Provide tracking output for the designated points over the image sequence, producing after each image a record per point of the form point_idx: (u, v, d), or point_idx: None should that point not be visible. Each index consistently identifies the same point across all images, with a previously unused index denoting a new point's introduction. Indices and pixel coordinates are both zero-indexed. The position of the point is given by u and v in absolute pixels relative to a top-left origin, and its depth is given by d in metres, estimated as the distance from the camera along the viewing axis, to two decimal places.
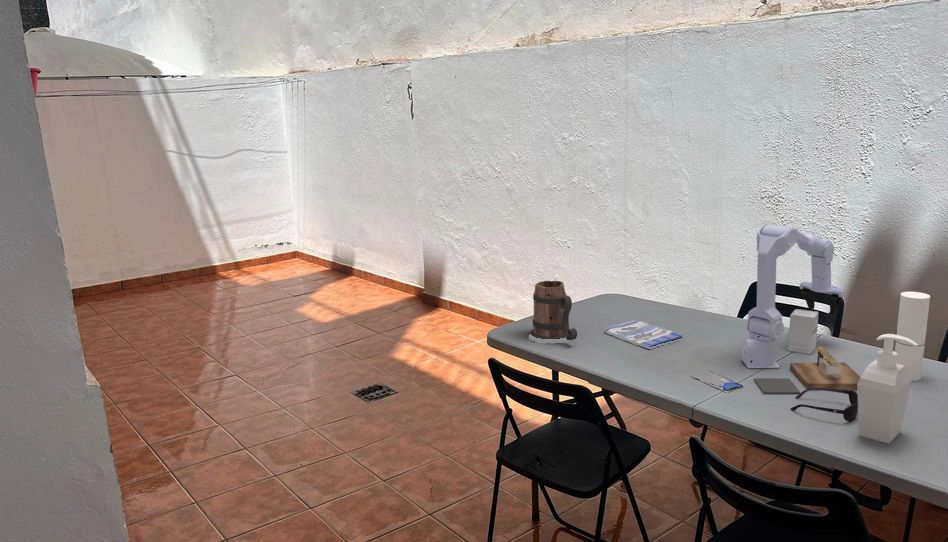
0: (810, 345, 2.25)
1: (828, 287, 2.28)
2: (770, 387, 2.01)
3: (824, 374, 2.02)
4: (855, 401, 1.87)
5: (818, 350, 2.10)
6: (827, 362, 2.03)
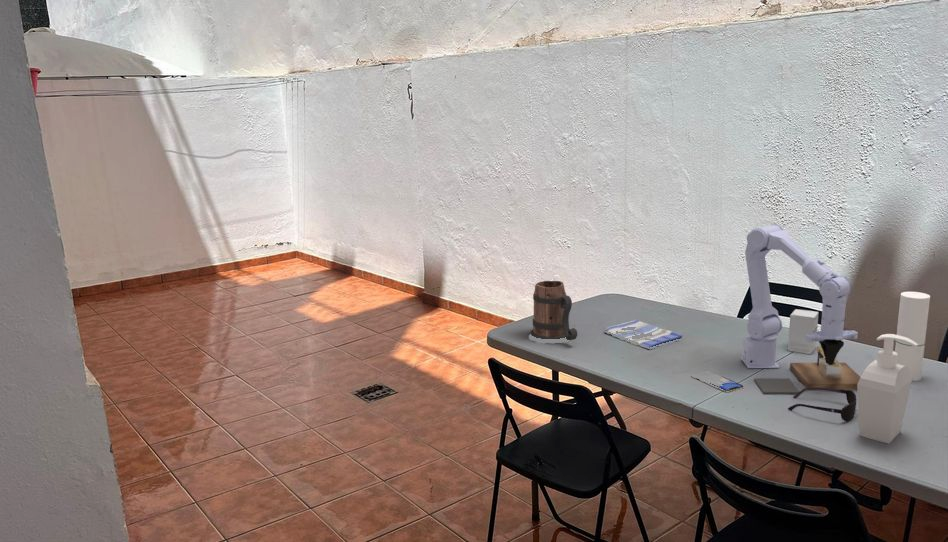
0: (810, 345, 2.25)
1: (821, 331, 1.98)
2: (770, 387, 2.01)
3: (824, 374, 2.02)
4: (853, 401, 1.87)
5: (818, 350, 2.10)
6: None
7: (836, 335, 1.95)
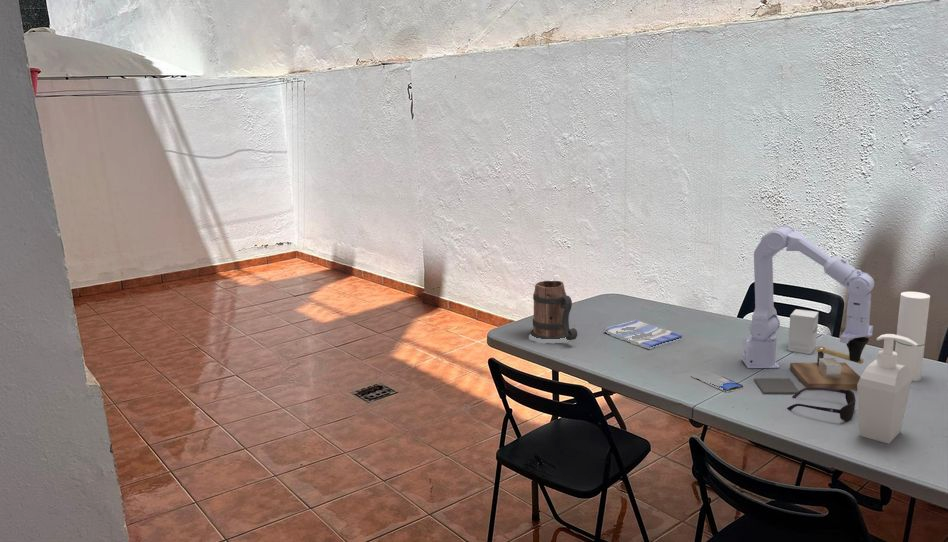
0: (810, 345, 2.25)
1: (849, 330, 1.98)
2: (770, 387, 2.01)
3: (824, 374, 2.02)
4: (852, 401, 1.87)
5: (820, 351, 2.09)
6: (827, 362, 2.03)
7: (866, 332, 1.96)
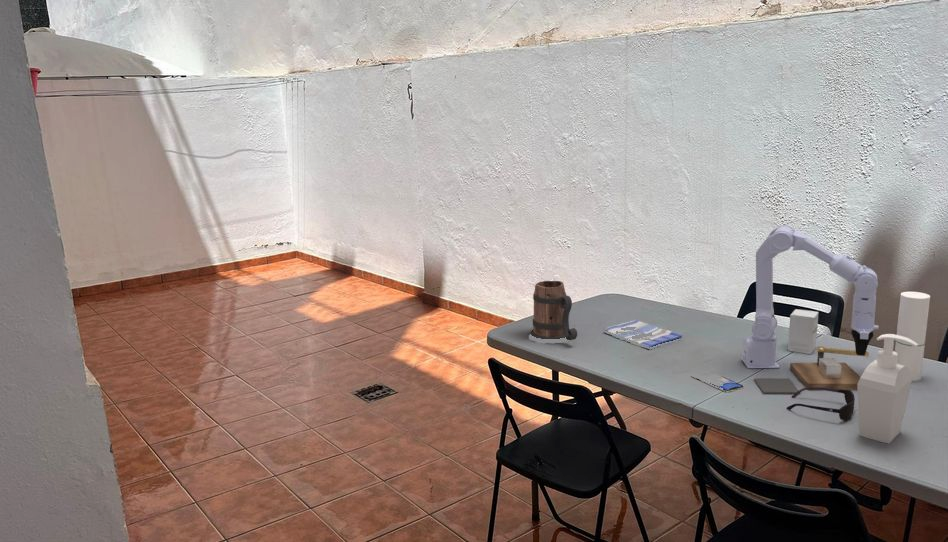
0: (810, 345, 2.25)
1: (860, 326, 2.01)
2: (770, 387, 2.01)
3: (824, 374, 2.02)
4: (851, 401, 1.87)
5: (822, 351, 2.09)
6: (827, 362, 2.03)
7: (873, 325, 2.01)
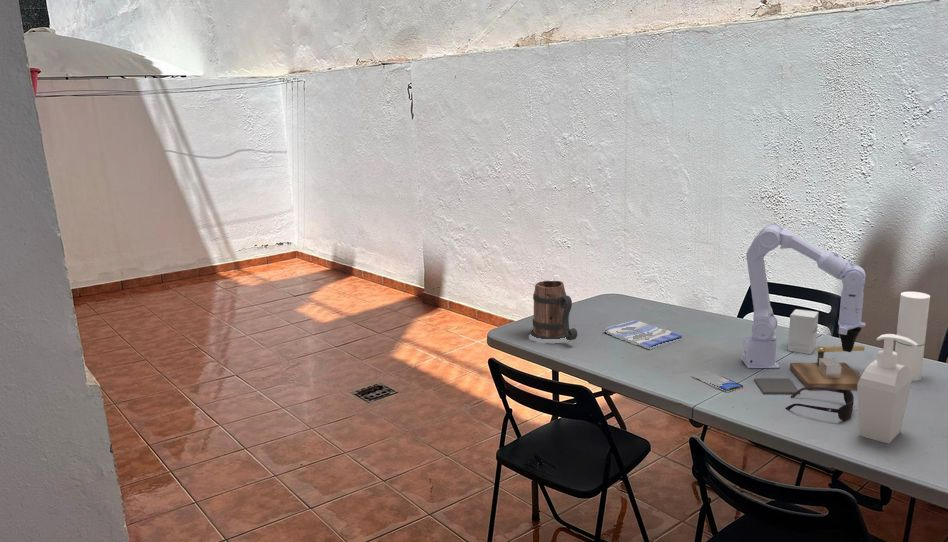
0: (810, 345, 2.25)
1: (844, 321, 2.02)
2: (770, 387, 2.01)
3: (824, 374, 2.02)
4: (850, 400, 1.87)
5: (824, 350, 2.09)
6: (827, 362, 2.03)
7: (860, 322, 2.02)
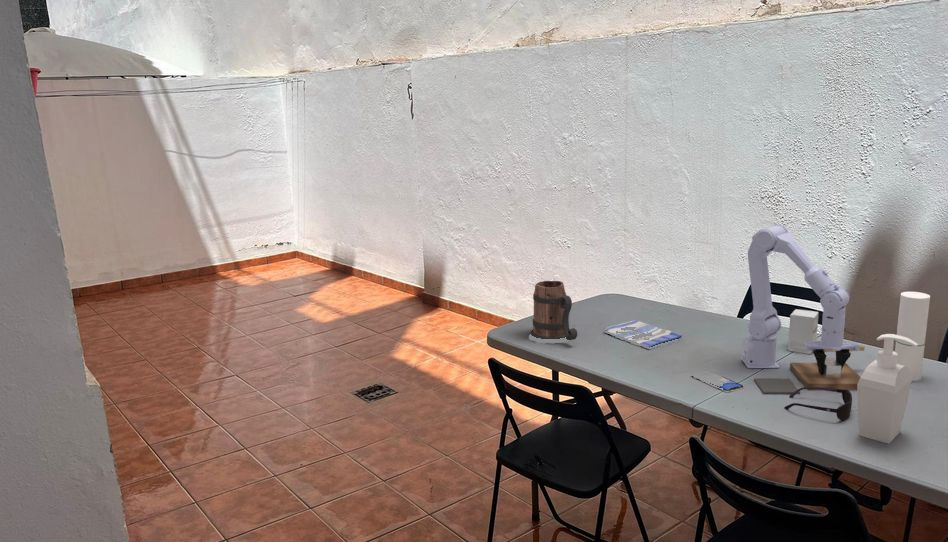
0: None
1: (820, 341, 2.03)
2: (770, 387, 2.01)
3: (824, 374, 2.02)
4: (848, 400, 1.87)
5: (824, 350, 2.09)
6: (827, 362, 2.03)
7: (834, 346, 1.99)
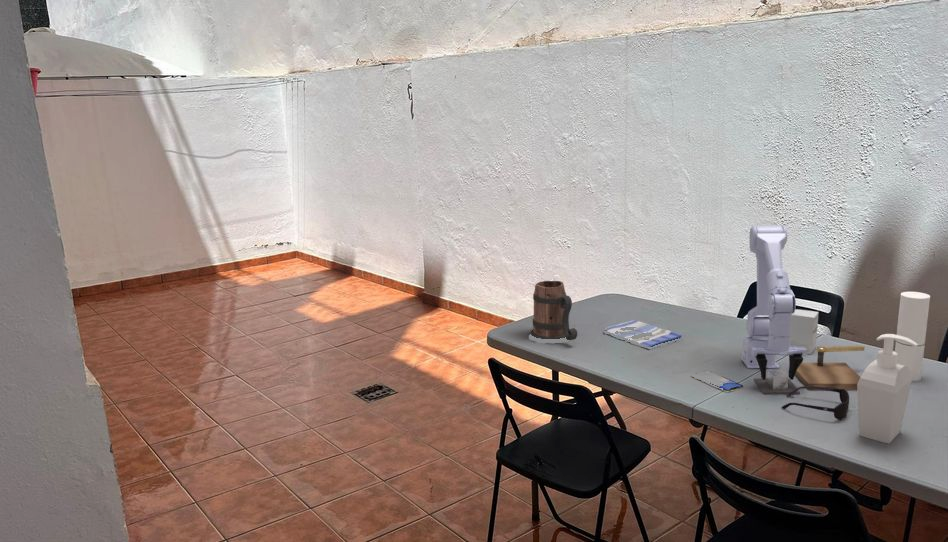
0: (810, 345, 2.25)
1: (768, 346, 2.00)
2: (770, 387, 2.01)
3: (771, 385, 2.00)
4: (846, 400, 1.88)
5: (824, 350, 2.09)
6: (774, 373, 2.00)
7: (780, 350, 1.97)
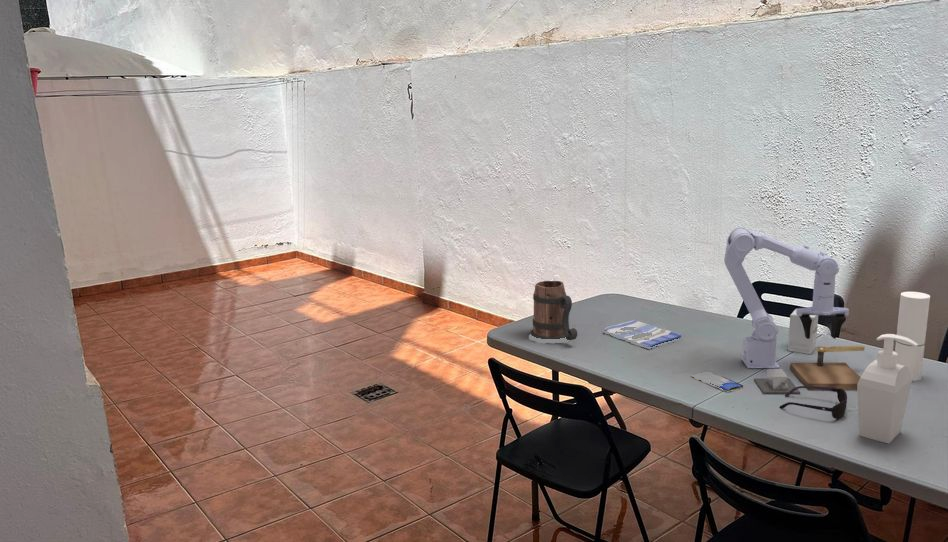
0: (810, 345, 2.25)
1: (812, 306, 2.12)
2: (770, 387, 2.01)
3: (771, 385, 2.00)
4: (843, 399, 1.88)
5: (824, 350, 2.09)
6: (774, 373, 2.00)
7: (824, 310, 2.08)
